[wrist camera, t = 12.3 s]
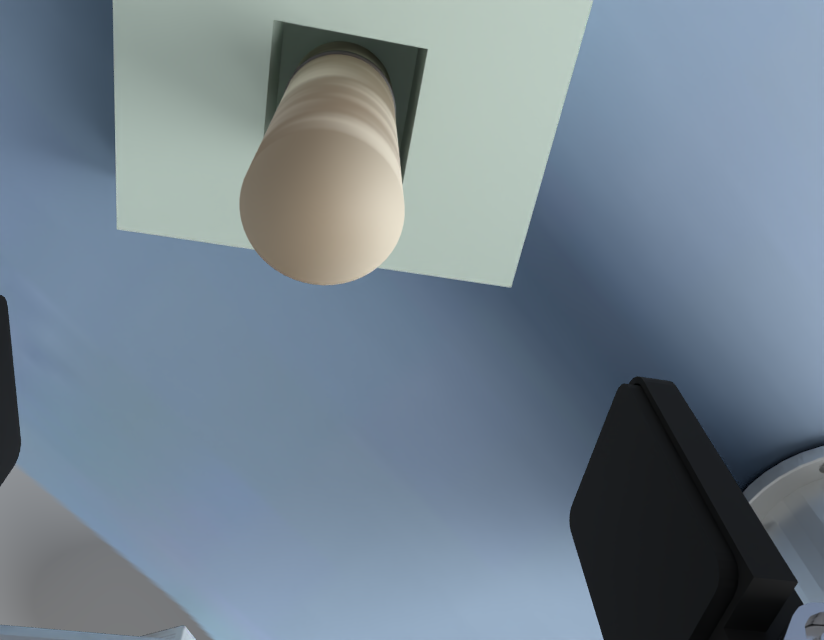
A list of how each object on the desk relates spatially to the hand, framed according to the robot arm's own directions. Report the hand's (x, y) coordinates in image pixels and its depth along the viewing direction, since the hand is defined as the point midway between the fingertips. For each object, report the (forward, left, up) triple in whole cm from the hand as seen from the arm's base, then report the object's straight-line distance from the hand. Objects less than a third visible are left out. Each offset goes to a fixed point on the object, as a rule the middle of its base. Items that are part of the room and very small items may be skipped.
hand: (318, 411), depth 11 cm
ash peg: (0, 0, -22) cm, 22 cm away
